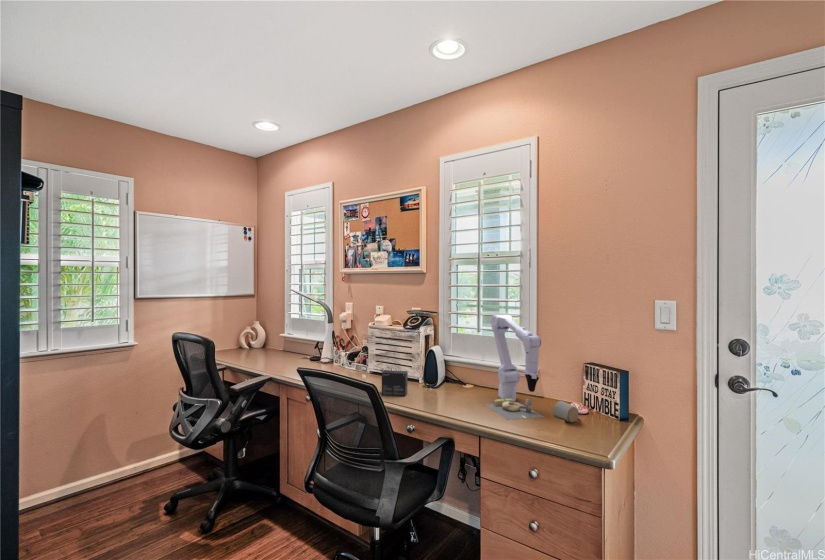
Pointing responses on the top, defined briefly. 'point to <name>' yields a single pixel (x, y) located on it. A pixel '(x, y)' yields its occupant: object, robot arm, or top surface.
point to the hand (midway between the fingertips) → (531, 390)
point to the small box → (394, 383)
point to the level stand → (512, 414)
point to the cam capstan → (517, 406)
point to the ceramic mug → (566, 411)
